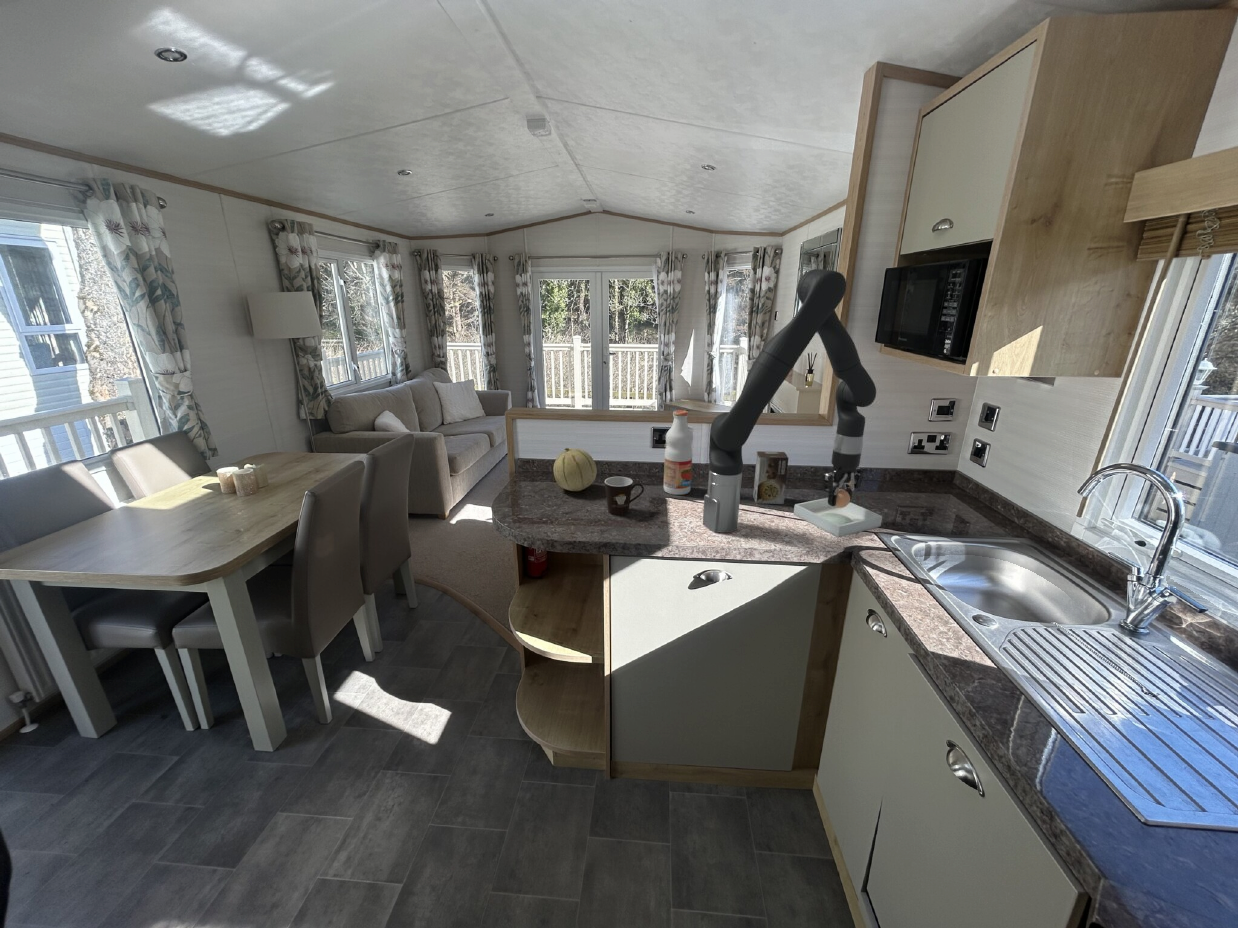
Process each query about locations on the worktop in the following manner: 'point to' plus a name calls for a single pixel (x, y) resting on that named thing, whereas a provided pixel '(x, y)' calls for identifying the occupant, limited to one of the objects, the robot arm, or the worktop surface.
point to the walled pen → (837, 517)
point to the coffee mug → (619, 494)
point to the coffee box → (770, 477)
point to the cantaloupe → (574, 469)
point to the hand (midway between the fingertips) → (839, 503)
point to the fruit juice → (678, 456)
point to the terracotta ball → (842, 498)
